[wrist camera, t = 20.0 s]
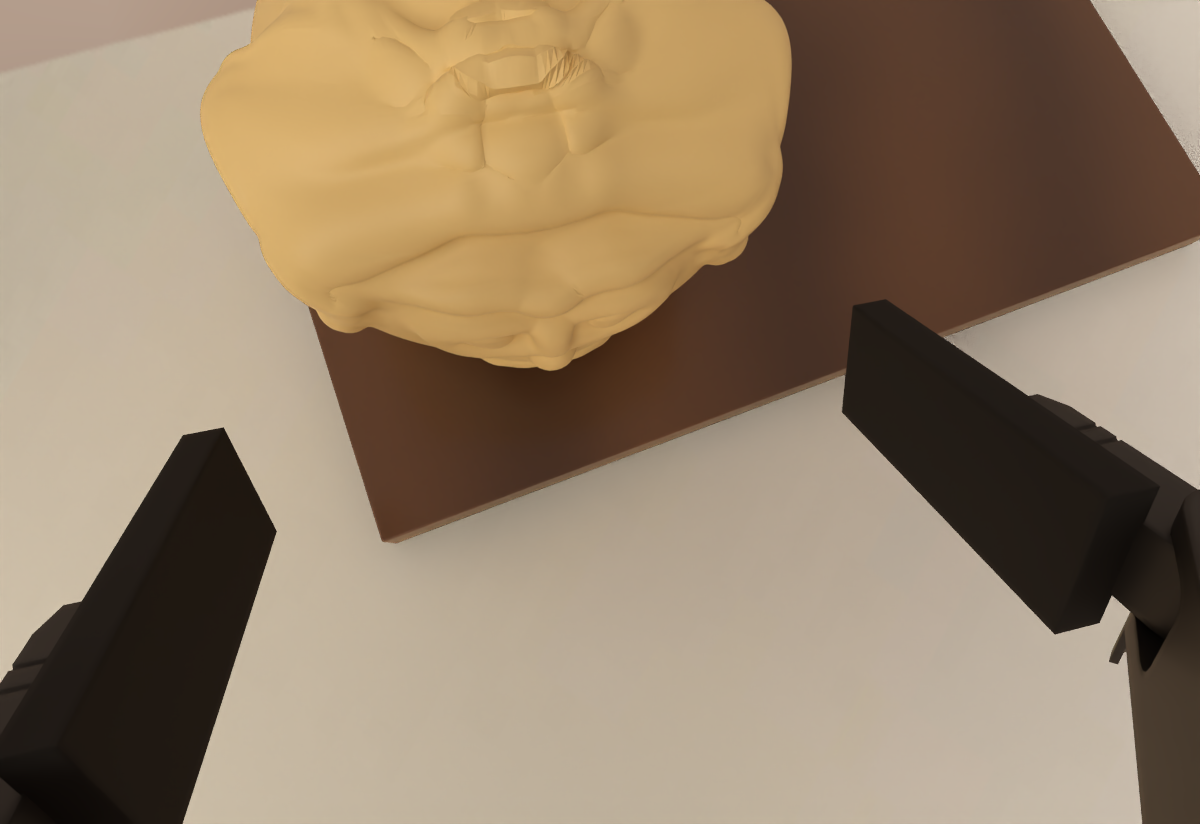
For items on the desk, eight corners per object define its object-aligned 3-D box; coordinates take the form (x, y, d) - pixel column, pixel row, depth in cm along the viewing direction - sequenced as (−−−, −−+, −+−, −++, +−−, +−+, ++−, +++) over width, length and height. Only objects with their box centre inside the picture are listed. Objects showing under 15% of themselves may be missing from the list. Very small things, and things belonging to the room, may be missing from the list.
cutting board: (394, 544, 20) (382, 542, 19) (257, 112, 23) (237, 82, 22) (1191, 243, 24) (1231, 223, 23) (985, -93, 27) (1009, -130, 26)
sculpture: (366, 444, 20) (138, 305, 9) (314, 95, 22) (88, -333, 11) (738, 369, 21) (920, 169, 10) (648, 45, 23) (720, -385, 13)
